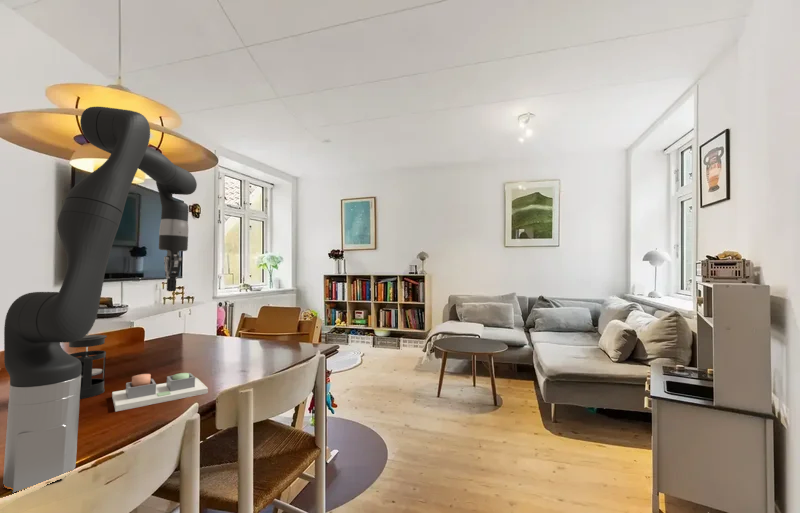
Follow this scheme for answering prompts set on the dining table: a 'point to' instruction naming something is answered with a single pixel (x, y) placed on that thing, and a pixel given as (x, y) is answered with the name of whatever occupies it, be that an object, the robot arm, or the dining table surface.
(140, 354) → the dining table surface
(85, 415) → the dining table surface
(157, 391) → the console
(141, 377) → the terracotta button
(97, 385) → the french press
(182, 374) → the sage button
